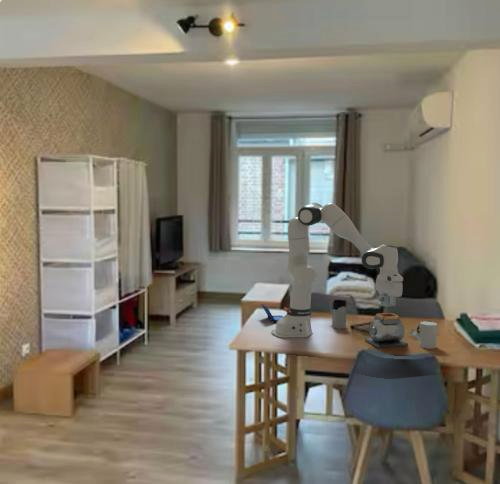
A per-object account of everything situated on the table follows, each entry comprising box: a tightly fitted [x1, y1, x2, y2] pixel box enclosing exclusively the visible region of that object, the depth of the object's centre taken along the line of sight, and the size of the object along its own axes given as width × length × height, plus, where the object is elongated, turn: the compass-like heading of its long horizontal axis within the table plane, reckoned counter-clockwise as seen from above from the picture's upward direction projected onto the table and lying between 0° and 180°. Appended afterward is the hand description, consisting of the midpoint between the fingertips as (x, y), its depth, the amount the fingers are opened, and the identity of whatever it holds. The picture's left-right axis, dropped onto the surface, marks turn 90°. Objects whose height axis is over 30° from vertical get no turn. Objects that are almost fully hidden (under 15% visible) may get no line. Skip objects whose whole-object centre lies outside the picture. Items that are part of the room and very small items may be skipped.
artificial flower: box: [409, 320, 433, 341], centre depth 303 cm, size 9×22×10 cm, turn 137°
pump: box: [378, 294, 397, 308], centre depth 282 cm, size 8×4×5 cm, turn 108°
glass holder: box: [329, 299, 347, 329], centre depth 320 cm, size 9×14×15 cm, turn 24°
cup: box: [418, 321, 438, 350], centre depth 280 cm, size 8×8×12 cm
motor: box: [364, 312, 409, 349], centre depth 284 cm, size 17×14×15 cm
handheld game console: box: [261, 303, 284, 324], centre depth 330 cm, size 16×13×9 cm
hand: (387, 302), depth 283 cm, fingers closed on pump, 4 cm apart
